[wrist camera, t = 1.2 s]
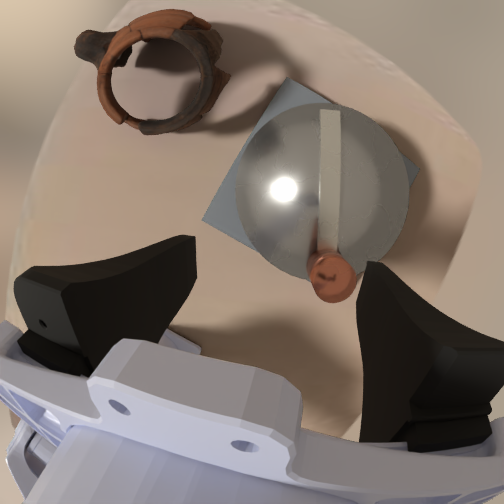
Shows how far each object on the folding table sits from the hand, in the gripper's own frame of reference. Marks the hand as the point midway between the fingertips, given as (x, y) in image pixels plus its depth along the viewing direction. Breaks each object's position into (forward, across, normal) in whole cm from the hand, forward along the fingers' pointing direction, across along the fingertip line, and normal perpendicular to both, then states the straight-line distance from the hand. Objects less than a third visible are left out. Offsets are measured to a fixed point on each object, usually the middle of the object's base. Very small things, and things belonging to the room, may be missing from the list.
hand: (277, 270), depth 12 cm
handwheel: (+9, -2, -1) cm, 10 cm away
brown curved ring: (+11, +11, -10) cm, 18 cm away
